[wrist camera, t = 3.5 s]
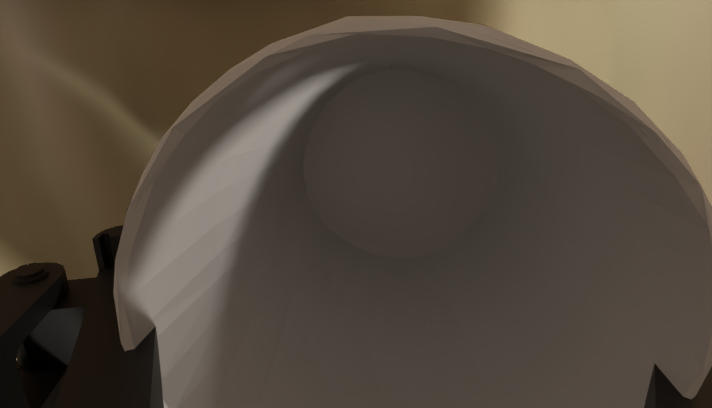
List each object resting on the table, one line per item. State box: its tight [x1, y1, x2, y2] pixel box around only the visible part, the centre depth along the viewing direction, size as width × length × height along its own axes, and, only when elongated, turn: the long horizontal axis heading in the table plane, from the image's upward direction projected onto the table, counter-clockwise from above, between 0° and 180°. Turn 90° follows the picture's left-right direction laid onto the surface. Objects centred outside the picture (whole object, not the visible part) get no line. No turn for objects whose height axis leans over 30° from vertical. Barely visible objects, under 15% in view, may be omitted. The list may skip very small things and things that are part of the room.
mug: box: [113, 16, 712, 408], centre depth 12 cm, size 13×9×10 cm
